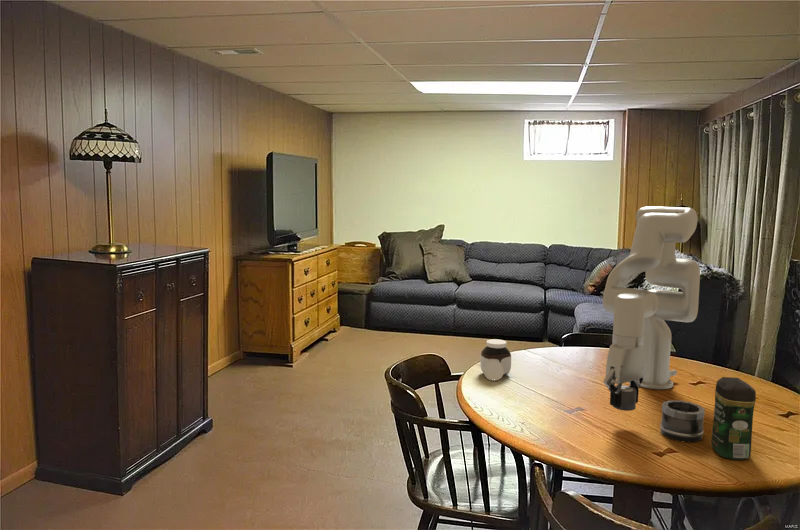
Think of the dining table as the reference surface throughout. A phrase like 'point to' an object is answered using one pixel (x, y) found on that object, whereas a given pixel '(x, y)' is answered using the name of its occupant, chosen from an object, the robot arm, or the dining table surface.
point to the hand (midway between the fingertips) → (623, 403)
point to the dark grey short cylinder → (627, 398)
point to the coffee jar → (733, 418)
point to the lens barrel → (682, 420)
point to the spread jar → (495, 359)
